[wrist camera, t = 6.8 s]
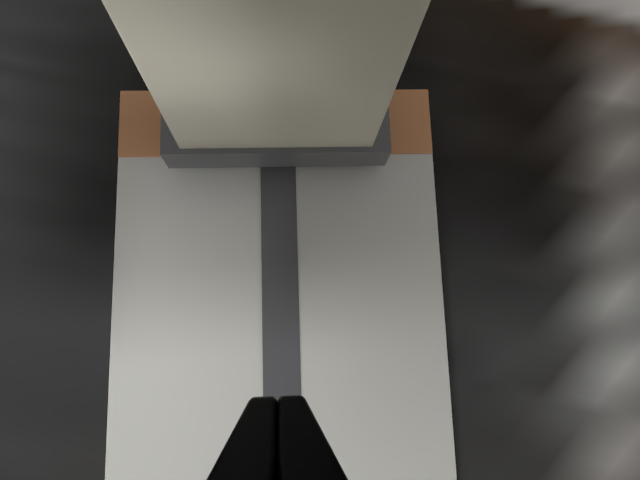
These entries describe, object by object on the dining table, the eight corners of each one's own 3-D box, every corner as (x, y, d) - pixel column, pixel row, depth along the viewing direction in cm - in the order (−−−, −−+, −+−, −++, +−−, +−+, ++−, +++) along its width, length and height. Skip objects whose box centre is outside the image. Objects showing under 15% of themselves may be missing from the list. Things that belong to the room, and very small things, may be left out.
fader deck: (452, 625, 15) (470, 655, 14) (115, 646, 15) (96, 680, 13) (416, 111, 18) (428, 89, 17) (134, 113, 18) (120, 90, 16)
